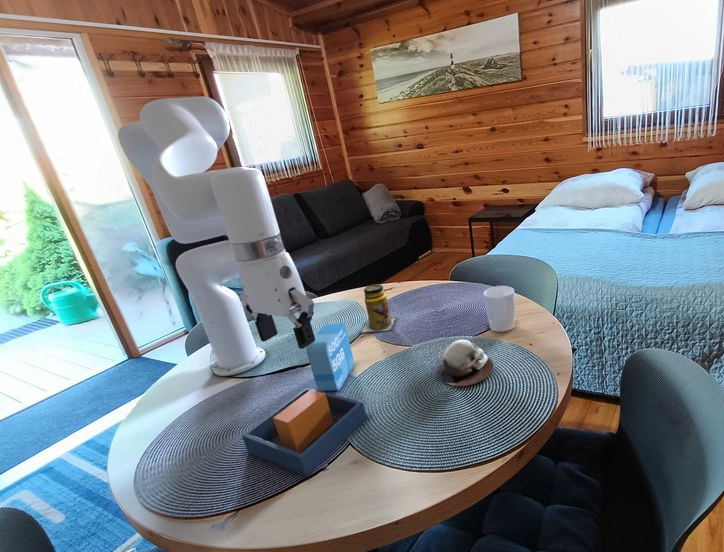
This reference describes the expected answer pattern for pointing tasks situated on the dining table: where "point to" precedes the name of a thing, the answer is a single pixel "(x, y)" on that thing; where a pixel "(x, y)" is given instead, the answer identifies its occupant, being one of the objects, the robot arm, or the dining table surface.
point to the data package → (330, 356)
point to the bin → (316, 451)
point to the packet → (303, 421)
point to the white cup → (500, 307)
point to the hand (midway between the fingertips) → (288, 341)
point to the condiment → (377, 309)
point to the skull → (465, 364)
